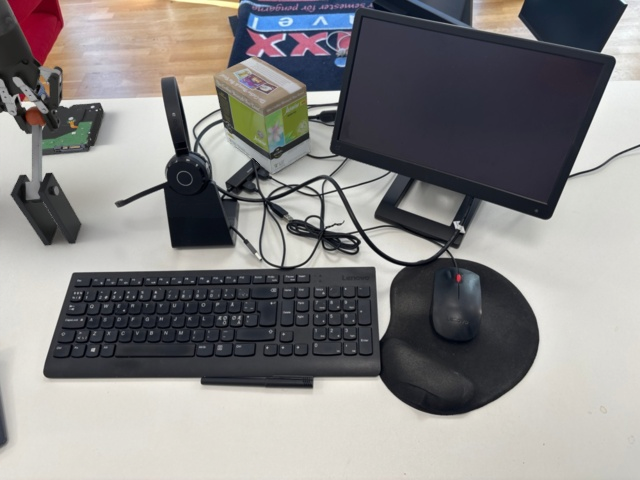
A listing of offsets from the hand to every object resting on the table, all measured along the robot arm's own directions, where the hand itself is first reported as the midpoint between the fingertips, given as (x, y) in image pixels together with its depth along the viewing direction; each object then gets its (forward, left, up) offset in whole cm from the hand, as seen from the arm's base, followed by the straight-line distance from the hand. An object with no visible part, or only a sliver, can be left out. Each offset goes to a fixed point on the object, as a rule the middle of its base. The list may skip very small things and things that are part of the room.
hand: (42, 129), depth 82 cm
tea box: (+34, +11, -15) cm, 39 cm away
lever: (0, -4, -2) cm, 4 cm away
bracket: (0, -10, -15) cm, 18 cm away
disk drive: (-6, +19, -15) cm, 25 cm away
